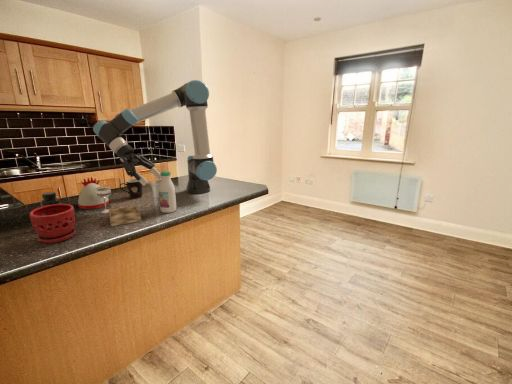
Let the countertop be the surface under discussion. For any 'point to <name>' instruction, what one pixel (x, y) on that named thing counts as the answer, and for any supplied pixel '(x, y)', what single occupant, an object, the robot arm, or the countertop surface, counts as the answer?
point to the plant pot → (54, 222)
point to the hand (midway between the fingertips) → (153, 180)
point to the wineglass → (103, 195)
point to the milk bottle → (167, 193)
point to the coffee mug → (133, 188)
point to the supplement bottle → (49, 200)
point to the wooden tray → (124, 215)
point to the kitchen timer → (90, 196)
